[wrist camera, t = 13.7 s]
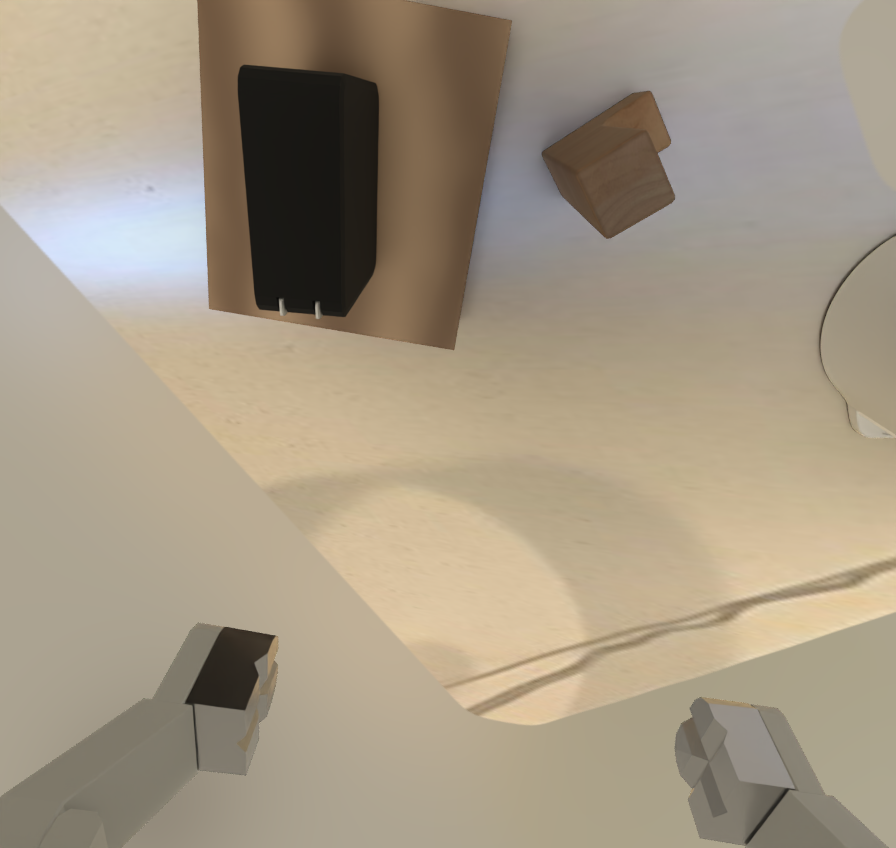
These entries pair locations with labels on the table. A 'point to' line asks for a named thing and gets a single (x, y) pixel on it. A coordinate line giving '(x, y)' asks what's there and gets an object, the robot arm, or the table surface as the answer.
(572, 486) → the table surface
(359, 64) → the walnut box
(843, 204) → the table surface
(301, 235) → the electronic device
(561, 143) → the wooden block
